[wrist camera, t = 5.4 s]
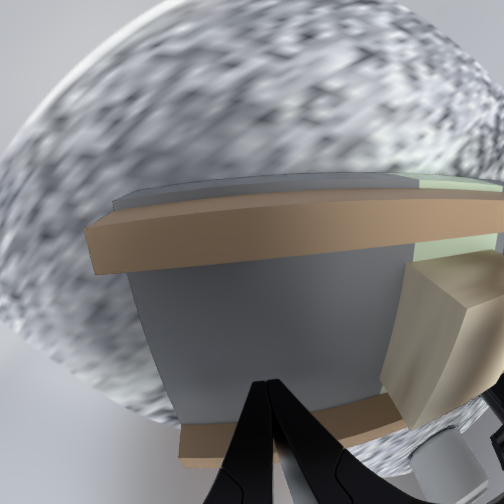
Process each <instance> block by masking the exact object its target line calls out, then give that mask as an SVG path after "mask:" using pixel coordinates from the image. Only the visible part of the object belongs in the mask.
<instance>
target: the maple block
mask: <svg viewBox="0 0 504 504" xmlns="http://www.w3.org/2000/svg"><path fill="white" fill-rule="evenodd" d="M503 370H504V255H503V254H501V253H499V252H497V251H495V250H493V249H488V250H482V251H477V252H471V253H465V254H459V255H453V256H446V257H440V258H434V259H427V260H420V261H414V262H407V263H406V266H405V272H404V279H403V284H402V290H401V295H400V300H399V305H398V310H397V314H396V319H395V323H394V327H393V331H392V335H391V339H390V343H389V347H388V350H387V354H386V357H385V361H384V364H383V367H382V371H381V374H380V377H379V379H380V381H381V382H382V384H383V386H384V387H385V389H386V391H387V392H388V394H389V396H390V397H391V399H392V401H393V402H394V404H395V406H396V407H397V409H398V411H399V413H400V414H401V416H402V418H403V419H404V421H405V423H406V425H407V426H408V428H409V430H410V431H412V430H414V429H416V428H419V427H421V426H423V425H425V424H427V423H429V422H431V421H433V420H436V419H437V418H439V417H441V416H443V415H445V414H447V413H449V412H451V411H453V410H454V409H456V408H458V407H460V406H461V405H463V404H465V403H467V402H468V401H470V400H472V399H473V398H475V397H476V396H478V395H479V394H481V393H483V392H484V391H486V390H487V389H489V388H490V387H492V386H493V385H494V384H496V382H497V381H498V379H499V377H500V375H501V374H502V372H503Z"/></svg>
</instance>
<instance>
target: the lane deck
mask: <svg viewBox="0 0 504 504" xmlns="http://www.w3.org/2000/svg"><path fill="white" fill-rule="evenodd" d="M112 202H113V208H114V211H113V212H112V213H110V214H108V215H106V216H105V217H103V218H101V219H100V220H98V221H96V222H94V223H93V224H91V225H89V226H88V227H86V228H85V229H84V231H85V236H86V240H87V244H88V248H89V253H90V257H91V260H92V264H93V268H94V272H95V275H104V274H115V273H127V275H128V278H129V282H130V286H131V290H132V293H133V297H134V300H135V304H136V307H137V311H138V314H139V317H140V320H141V324H142V327H143V330H144V333H145V336H146V339H147V342H148V345H149V347H150V350H151V353H152V356H153V359H154V361H155V364H156V367H157V369H158V372H159V374H160V377H161V379H162V382H163V384H164V387H165V389H166V392H167V394H168V396H169V399H170V401H171V403H172V405H173V408H174V410H175V412H176V414H177V416H178V419H179V421H180V423H181V434H180V444H179V456H178V458H179V460H180V461H181V462H182V464H183V465H184V467H185V468H221V464H222V462H223V459H224V456H225V454H226V451H227V449H228V446H229V444H230V441H231V438H232V436H233V433H234V430H235V428H236V425H237V422H238V420H239V417H240V414H241V411H242V409H243V406H244V403H245V400H246V398H247V395H248V392H249V389H250V386H251V384H252V382H253V381H260V380H264V381H266V380H268V379H276V378H278V379H280V380H281V381H282V382H283V383H284V384H285V385H286V387H287V388H288V389H289V390H290V391H291V392H292V393H293V394H294V395H295V396H296V398H297V399H298V400H299V401H300V402H301V403H302V404H303V405H304V406H305V407H306V408H307V409H308V410H309V412H310V413H311V414H312V415H313V416H314V417H315V418H316V419H317V420H318V421H319V422H320V423H321V424H322V425H323V426H324V427H325V428H326V429H327V430H328V431H329V432H330V433H331V434H332V435H333V436H334V437H335V438H336V439H337V440H338V441H339V442H340V443H341V444H342V445H343V446H344V448H349V447H352V446H355V445H359V444H362V443H365V442H368V441H371V440H374V439H377V438H380V437H383V436H385V435H388V434H391V433H393V432H396V431H398V430H401V429H403V428H406V427H408V426H407V425H406V423H405V421H404V419H403V418H402V416H401V414H400V413H399V411H398V409H397V407H396V406H395V404H394V402H393V401H392V399H391V397H390V396H389V394H388V392H387V391H386V389H385V387H384V386H383V384H382V382H381V381H380V379H379V377H380V374H381V371H382V367H383V364H384V361H385V357H386V354H387V350H388V347H389V343H390V339H391V335H392V331H393V327H394V323H395V319H396V314H397V310H398V305H399V300H400V295H401V290H402V284H403V279H404V272H405V266H406V263H407V262H414V261H420V260H427V259H434V258H440V257H446V256H453V255H459V254H465V253H471V252H477V251H482V250H488V249H493V250H495V251H497V252H499V253H501V254H503V255H504V182H500V181H492V180H484V179H476V178H466V177H455V176H443V175H429V174H410V173H378V172H335V173H301V174H281V175H265V176H251V177H239V178H228V179H218V180H209V181H200V182H192V183H184V184H176V185H169V186H162V187H155V188H149V189H142V190H137V191H135V192H132V193H130V194H128V195H126V196H123V197H121V198H119V199H117V200H115V201H112ZM502 373H504V370H503V372H502ZM273 459H274V463H279V462H280V460H279V457H278V454H277V450H276V447H275V444H274V440H273Z"/></svg>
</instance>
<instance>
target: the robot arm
mask: <svg viewBox="0 0 504 504" xmlns="http://www.w3.org/2000/svg"><path fill="white" fill-rule="evenodd" d="M478 396H479V397H482V398H483V399H484V401H485V402H486V403H487V404H488V406H489V407H490V408H491V409H492V411H493V412H494V413H495V414H496V416H497V417H498V419H499V420H500V421H501V423H502V424H503V425H502V426H501V427H500V428H499V429H498V430H497V432H496V433H494V434H493V435H492V436H491V437H490V439H491V441H492V445H493V447H494V449H495V452H496V454H497V457H498V459H499V461H500V463H501V467H502V470H503V471H504V373H502V374H501V375H500V377H499V379H498V381H497V382H496V384H494V385H493V386H492V387H490V388H489V389H487V390H486V391H484V392H483V393H481V394H479V395H478ZM273 440H274V444H275V447H276V450H277V454H278V457H279V460H280V463H281V466H282V469H283V472H284V475H285V478H286V481H287V484H288V487H289V489H290V493H291V496H292V498H293V501H294V504H438V503H432V502H426V501H422V500H419V499H416V498H414V497H412V496H410V495H408V494H406V493H405V492H403V491H401V490H400V489H398V488H396V487H395V486H393V485H392V484H390V483H389V482H387V481H386V480H384V479H383V478H381V477H380V476H378V475H377V474H375V473H374V472H373V471H371V470H370V469H368V468H367V467H366V466H365V465H363V464H362V463H361V462H360V461H359V460H358V459H357V458H355V457H354V456H353V455H352V454H351V453H350V452H349V451H348V450H347V449H346V448H344V446H343V445H342V444H341V443H340V442H339V441H338V440H337V439H336V438H335V437H334V436H333V435H332V434H331V433H330V432H329V431H328V430H327V429H326V428H325V427H324V426H323V425H322V424H321V423H320V422H319V421H318V420H317V419H316V418H315V417H314V416H313V415H312V414H311V413H310V412H309V410H308V409H307V408H306V407H305V406H304V405H303V404H302V403H301V402H300V401H299V400H298V399H297V398H296V396H295V395H294V394H293V393H292V392H291V391H290V390H289V389H288V388H287V387H286V385H285V384H284V383H283V382H282V381H281V380H280V379H278V378H276V379H268V380H266V381H264V380H260V381H253V382H252V384H251V386H250V389H249V392H248V395H247V398H246V400H245V403H244V406H243V409H242V411H241V414H240V417H239V420H238V422H237V425H236V428H235V430H234V433H233V436H232V438H231V441H230V444H229V446H228V449H227V451H226V454H225V456H224V459H223V462H222V464H221V468H220V469H219V471H218V474H217V476H216V479H215V481H214V483H213V485H212V487H211V489H210V491H209V493H208V495H207V497H206V499H205V500H204V502H203V504H274V467H273V466H274V459H273ZM487 504H504V492H503V493H502V494H500V495H499V496H497V497H496V498H494V499H493V500H491V501H490V502H488V503H487Z"/></svg>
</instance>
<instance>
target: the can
mask: <svg viewBox="0 0 504 504" xmlns="http://www.w3.org/2000/svg"><path fill="white" fill-rule="evenodd" d="M409 464H410V466H411V468H412V470H413V472H414V474H415V476H416V478H417V480H418V482H419V484H420V486H421V488H422V490H423V492H424V494H425V496H426V498H427V501H428V502H432V503H438V504H472V503H473V502H475V501H476V500H477V499H479V498H480V497H481V496H483V495H484V494H485V493H486V492H487V491H488V490H489V489H487V484H488V480H489V477H488V475H487V473H486V472H485V470H484V469H483V467H482V465H481V464H480V462H479V460H478V459H477V457H476V456H475V454H474V452H473V451H472V449H471V448H470V446H469V445H468V443H467V441H466V440H465V439H464V437H463V436H462V434H461V432H460V431H459V429H446V430H444V431H442V432H440V433H438V434H437V435H435V436H433V437H432V438H430V439H429V440H428V441H426V442H425V443H424V444H423V445H421V446H420V447H419V448H418V449H417V450H416V451H415V452H414V453H413V456H412V459H411V461H410V463H409Z"/></svg>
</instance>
